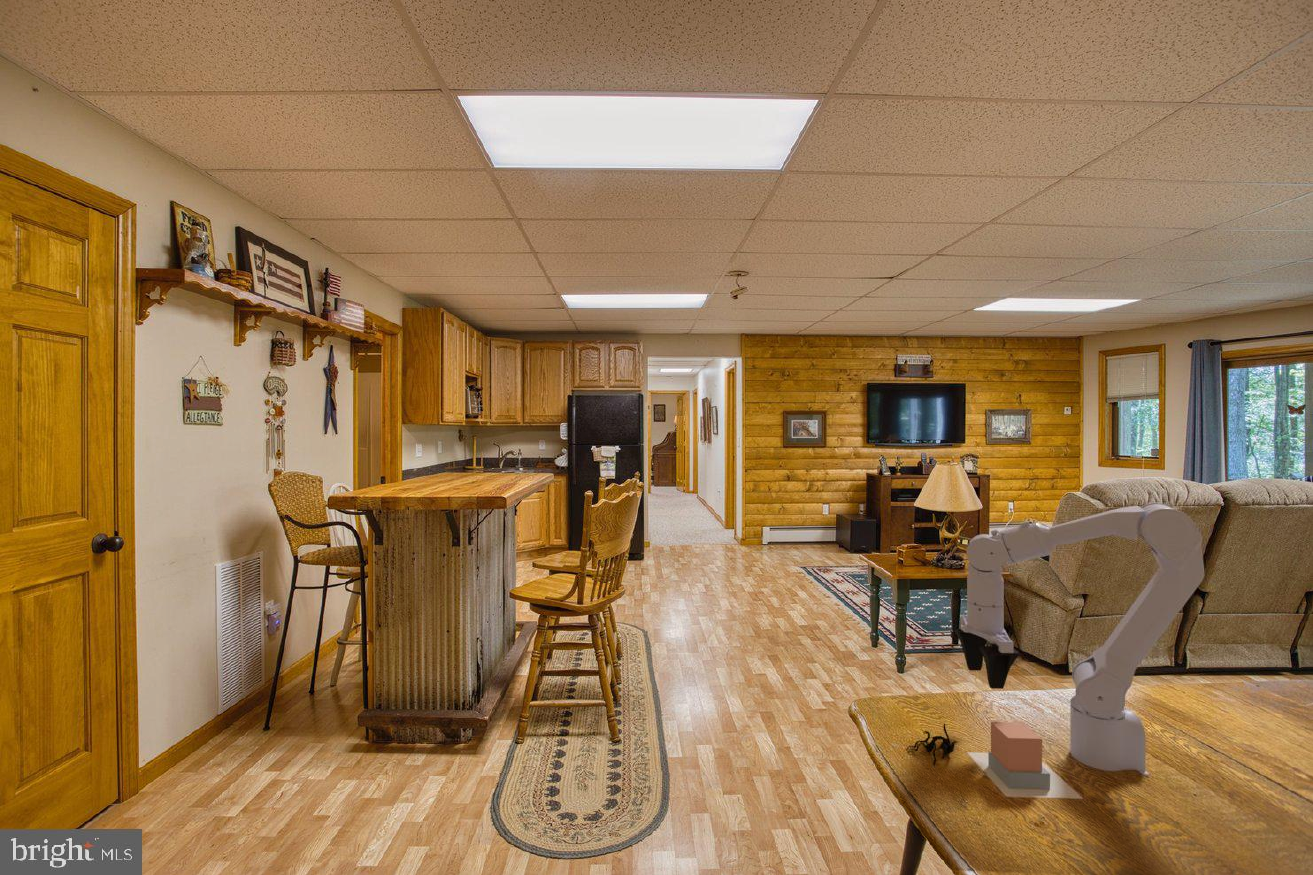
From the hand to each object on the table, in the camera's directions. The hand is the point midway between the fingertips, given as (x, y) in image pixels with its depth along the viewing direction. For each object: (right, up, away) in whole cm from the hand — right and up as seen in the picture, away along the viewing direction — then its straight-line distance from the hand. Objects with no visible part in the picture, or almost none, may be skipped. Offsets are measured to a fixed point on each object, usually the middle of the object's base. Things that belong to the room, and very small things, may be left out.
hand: (985, 678), depth 105 cm
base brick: (-3, -10, -14) cm, 17 cm away
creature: (-13, -11, -7) cm, 18 cm away
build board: (-2, -11, -13) cm, 17 cm away
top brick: (-3, -7, -14) cm, 16 cm away
